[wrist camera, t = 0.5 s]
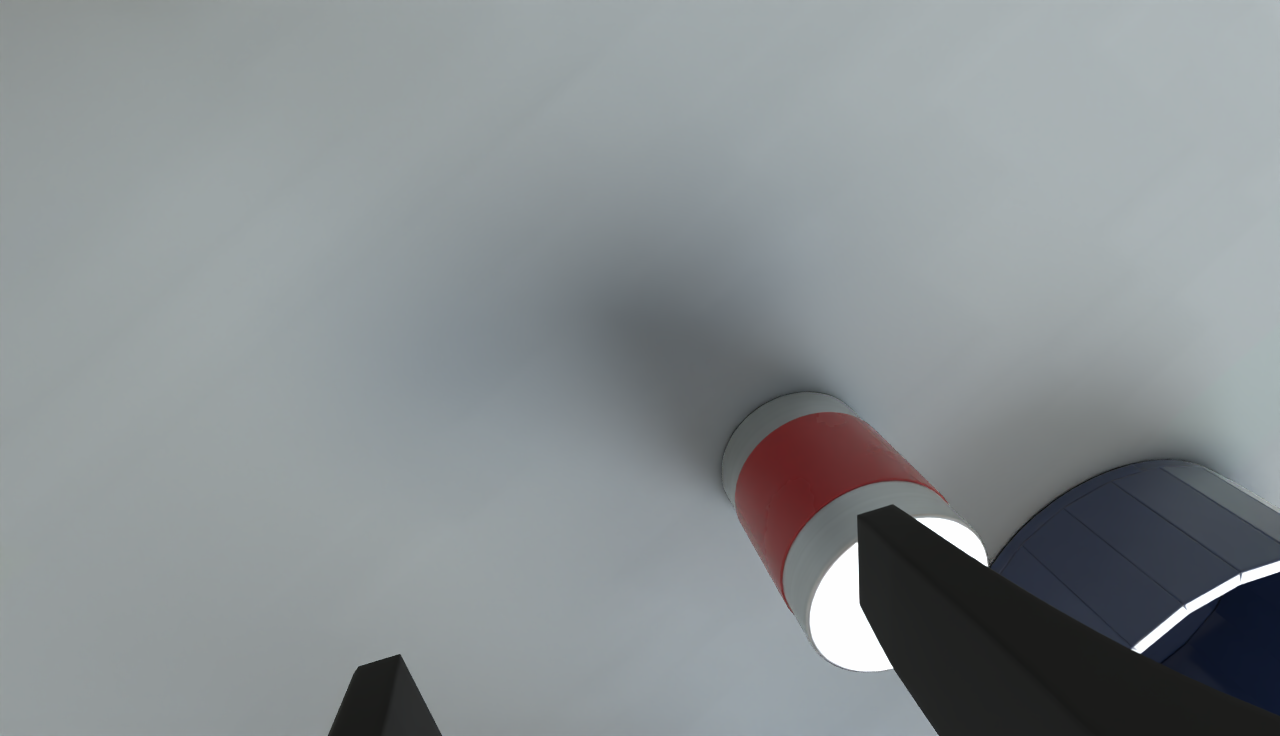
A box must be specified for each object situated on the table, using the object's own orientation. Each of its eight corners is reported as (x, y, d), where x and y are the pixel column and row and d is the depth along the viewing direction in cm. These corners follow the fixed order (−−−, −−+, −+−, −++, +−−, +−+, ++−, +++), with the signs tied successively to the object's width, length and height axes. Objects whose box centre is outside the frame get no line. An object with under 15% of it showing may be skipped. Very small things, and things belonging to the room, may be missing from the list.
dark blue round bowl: (1163, 692, 33) (1283, 806, 29) (928, 714, 30) (1017, 845, 26) (1291, 459, 29) (1461, 548, 24) (1028, 457, 26) (1161, 558, 21)
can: (843, 521, 25) (957, 669, 19) (706, 524, 24) (784, 682, 18) (881, 391, 23) (1019, 512, 17) (734, 387, 22) (831, 514, 16)
